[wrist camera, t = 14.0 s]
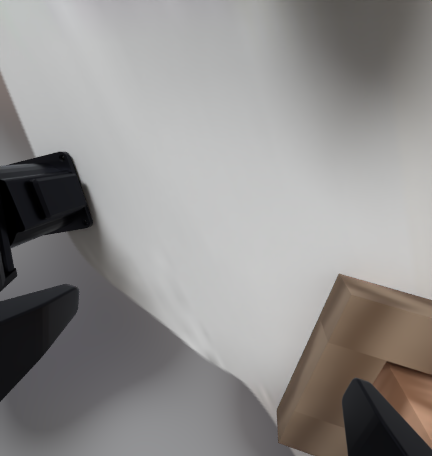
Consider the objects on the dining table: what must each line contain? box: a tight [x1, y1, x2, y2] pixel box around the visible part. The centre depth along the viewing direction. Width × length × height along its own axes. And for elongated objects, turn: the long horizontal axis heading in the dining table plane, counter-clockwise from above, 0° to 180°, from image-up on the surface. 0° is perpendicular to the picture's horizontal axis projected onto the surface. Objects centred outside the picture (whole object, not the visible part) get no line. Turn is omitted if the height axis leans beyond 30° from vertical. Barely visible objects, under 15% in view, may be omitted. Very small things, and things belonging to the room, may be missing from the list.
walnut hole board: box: [277, 274, 432, 456], centre depth 21 cm, size 16×16×3 cm
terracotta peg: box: [372, 361, 432, 449], centre depth 17 cm, size 5×5×10 cm
